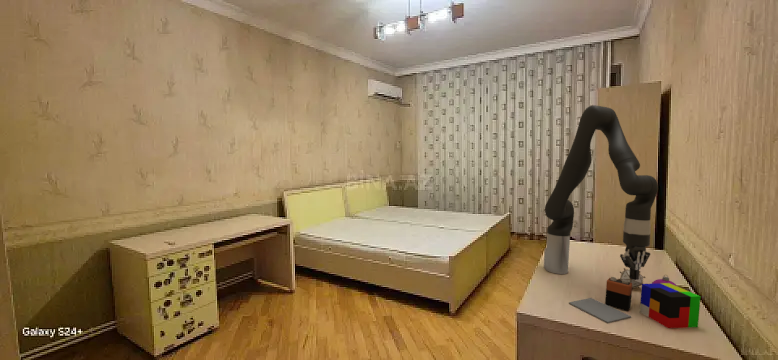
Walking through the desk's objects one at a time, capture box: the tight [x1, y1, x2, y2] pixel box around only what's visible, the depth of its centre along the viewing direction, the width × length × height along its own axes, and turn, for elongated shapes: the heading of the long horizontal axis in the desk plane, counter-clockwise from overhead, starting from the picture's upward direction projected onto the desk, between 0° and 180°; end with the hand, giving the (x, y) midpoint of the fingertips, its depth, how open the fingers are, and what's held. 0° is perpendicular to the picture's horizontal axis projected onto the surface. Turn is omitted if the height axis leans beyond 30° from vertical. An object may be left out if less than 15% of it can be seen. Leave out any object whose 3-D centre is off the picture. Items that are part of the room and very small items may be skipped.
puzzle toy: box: [639, 283, 702, 329], centre depth 101 cm, size 10×10×10 cm
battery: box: [604, 276, 633, 312], centre depth 110 cm, size 4×7×10 cm, turn 43°
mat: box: [568, 297, 632, 324], centre depth 107 cm, size 14×11×1 cm
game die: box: [618, 267, 646, 289], centre depth 126 cm, size 9×8×10 cm
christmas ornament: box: [651, 274, 679, 287], centre depth 114 cm, size 8×8×10 cm
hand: (633, 278), depth 112 cm, fingers closed
